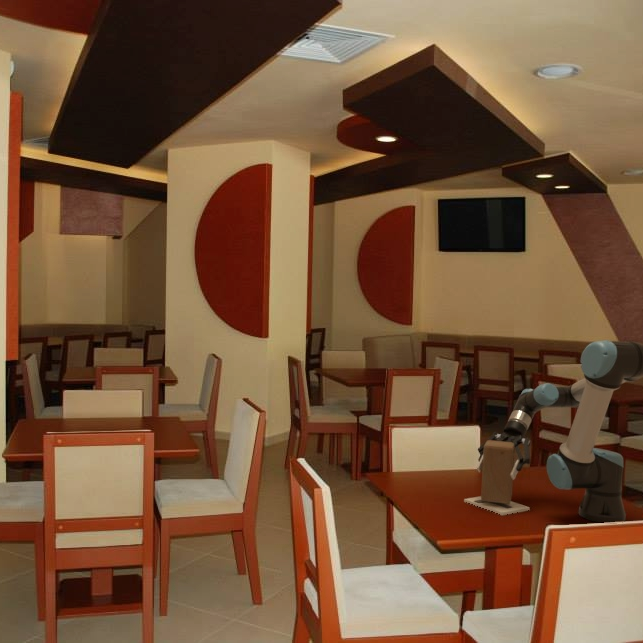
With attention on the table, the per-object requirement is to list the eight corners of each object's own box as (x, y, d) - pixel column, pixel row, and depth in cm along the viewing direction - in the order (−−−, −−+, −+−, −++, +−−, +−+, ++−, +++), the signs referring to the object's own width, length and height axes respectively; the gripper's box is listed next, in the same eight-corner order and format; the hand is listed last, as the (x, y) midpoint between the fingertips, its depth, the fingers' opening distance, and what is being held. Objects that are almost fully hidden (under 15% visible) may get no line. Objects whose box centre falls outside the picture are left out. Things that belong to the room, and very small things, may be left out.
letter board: (529, 510, 272) (529, 506, 272) (501, 515, 264) (502, 512, 264) (491, 497, 286) (491, 494, 286) (463, 501, 279) (464, 498, 278)
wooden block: (509, 504, 268) (513, 447, 267) (480, 501, 271) (483, 444, 270) (512, 497, 278) (515, 442, 277) (483, 494, 281) (486, 439, 280)
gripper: (551, 437, 278) (530, 486, 267) (490, 427, 294) (467, 473, 283) (546, 424, 273) (524, 474, 263) (484, 414, 289) (461, 460, 278)
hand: (495, 473), depth 273 cm, fingers closed on wooden block, 12 cm apart
